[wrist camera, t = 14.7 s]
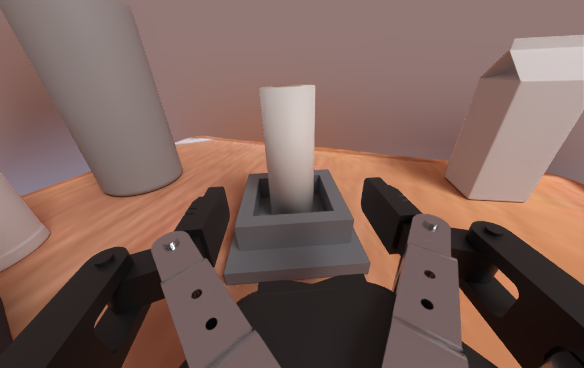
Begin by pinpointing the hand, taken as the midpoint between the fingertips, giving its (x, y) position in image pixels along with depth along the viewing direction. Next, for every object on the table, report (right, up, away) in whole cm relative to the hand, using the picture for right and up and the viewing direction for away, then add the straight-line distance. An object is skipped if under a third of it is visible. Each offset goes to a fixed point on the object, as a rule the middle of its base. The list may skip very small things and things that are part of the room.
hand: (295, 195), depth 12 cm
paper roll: (0, -3, +13) cm, 13 cm away
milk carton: (+29, 0, +20) cm, 35 cm away
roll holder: (0, -4, +14) cm, 15 cm away
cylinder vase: (-27, +1, +26) cm, 38 cm away
